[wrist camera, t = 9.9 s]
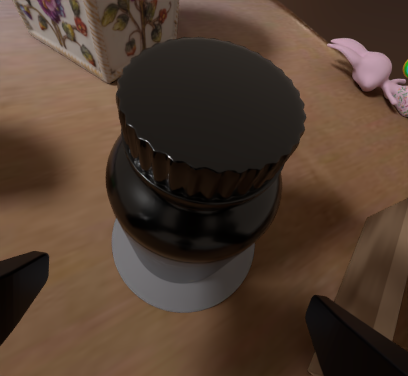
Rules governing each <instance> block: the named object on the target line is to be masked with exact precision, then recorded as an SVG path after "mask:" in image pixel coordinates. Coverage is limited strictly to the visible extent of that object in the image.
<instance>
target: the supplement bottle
mask: <svg viewBox="0 0 408 376" xmlns="http://www.w3.org/2000/svg"><path fill="white" fill-rule="evenodd" d="M117 87H118V91H117V93H116V103H117V107H118V112H119V119H120V123H121V134H120V136H119V137H118V138H117V140H116V142H115V144H114V145H113V148H112V150H111V152H110V155H109V158H108V162H107V167H106V189H107V194H108V198H109V201H110V204H111V207H112V209H113V212H114V214H115V216H116V218H117V220H118V222H119V224H120V226H121V227H122V229H123V231H124V233H125V235H126V237H127V239H128V240H129V242H130V244H131V246H132V248H133V250H134V251H135V253H136V255H137V257H138V258H139V260H140V261H141V263H142V264H143V265H144V267H145V268H146V269H147V270H148V271H150V272H151V273H152V274H153V275H155V276H157V277H158V278H160V279H162V280H165V281H168V282H171V283H178V284H188V283H194V282H198V281H201V280H203V279H205V278H207V277H209V276H211V275H212V274H214V273H215V272H217V271H218V270H219V269H221V268H222V267H223V266H225V265H226V264H227V263H229V262H230V261H231V260H233V259H234V258H235V257H237V256H238V255H239V254H241V253H242V252H243V251H245V250H246V249H247V248H249V247H250V246H251V245H252V244H254V243H255V242H256V241H257V240H258V239H259V238H260V237H261V236H262V235H263V234H264V233H265V231H266V230H267V229H268V228H269V226H270V225H271V223H272V221H273V220H274V218H275V215H276V213H277V211H278V208H279V205H280V200H281V193H282V177H281V171H282V169H283V166H284V164H285V162H286V161H287V160H288V158H289V157H290V156H291V155H292V153H293V152H294V151H295V150H296V148H297V147H298V144H299V141H300V138H301V136H302V135H303V133H304V131H305V127H304V122H305V119H306V114H305V113H304V110H303V109H304V103H303V101H302V100H301V98H300V93H299V91H298V90H297V89H296V88H295V87H294V86H293V82H292V80H291V79H289V78H288V77H287V76H286V75H285V74H284V72H283V71H282V70H281V69H280V68H278V67H276V66H275V65H274V64H273V63H272V62H271V61H270V60H268V59H266V58H264V57H262V56H261V55H260V54H259V53H257V52H254V51H251V50H249V49H247V48H246V47H244V46H239V45H236V44H234V43H231V42H228V41H221V40H218V39H215V38H210V39H207V38H202V37H195V38H188V37H183V38H179V39H169V40H167V41H165V42H162V43H155V44H154V45H153V46H152V47H150V48H146V49H143V50H142V51H141V52H140V54H139V55H137V56H134V57H132V58H131V60H130V63H129V64H128V65H126V66H125V67H124V68H123V73H122V76H121V77H120V78H119V79H118V81H117Z"/></svg>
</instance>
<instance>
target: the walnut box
mask: <svg viewBox="0 0 408 376" xmlns="http://www.w3.org/2000/svg"><path fill="white" fill-rule="evenodd" d="M407 277H408V198H407V199H405V200H403V201H401V202H399V203H397V204H395V205H392V206H390V207H388V208H386V209H384V210H382V211H380V212H378V213H376V214H374V215H372V216H370V217H368V218H367V220H366V222H365V225H364V227H363V230H362V233H361V235H360V238H359V240H358V243H357V245H356V248H355V250H354V253H353V256H352V258H351V261H350V263H349V266H348V268H347V271H346V273H345V276H344V278H343V281H342V284H341V286H340V289H339V291H338V294H337V296H336V299H335V301H334V302H335V303H336V304H338V305H339V306H341V307H342V308H344V309H345V310H347V311H348V312H350V313H351V314H352V315H354V316H355V317H357V318H358V319H360V320H361V321H363V322H364V323H366V324H367V325H369V326H370V327H372V328H373V329H375V330H376V331H378V332H379V333H380V334H382V335H383V336H385V337H386V338H388V339H389V340H391V341H393V336H394V332H395V328H396V324H397V319H398V315H399V311H400V306H401V302H402V298H403V294H404V289H405V285H406V281H407ZM307 371H308V372H309V373H310V374H312V375H313V376H323V373H322V370H321V368H320V365H319V362H318V359H317V355H316V352H314V355H313V357H312V360H311V363H310V365H309V368H308V370H307Z"/></svg>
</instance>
